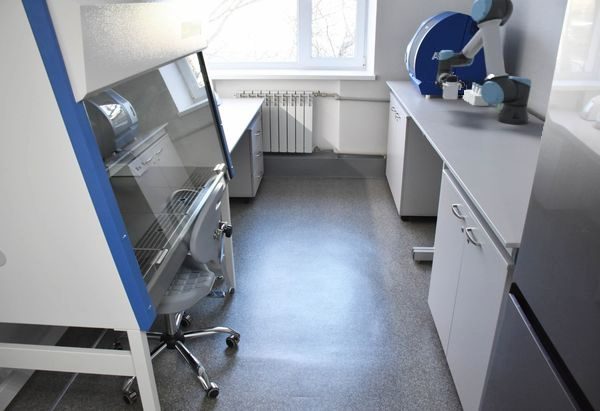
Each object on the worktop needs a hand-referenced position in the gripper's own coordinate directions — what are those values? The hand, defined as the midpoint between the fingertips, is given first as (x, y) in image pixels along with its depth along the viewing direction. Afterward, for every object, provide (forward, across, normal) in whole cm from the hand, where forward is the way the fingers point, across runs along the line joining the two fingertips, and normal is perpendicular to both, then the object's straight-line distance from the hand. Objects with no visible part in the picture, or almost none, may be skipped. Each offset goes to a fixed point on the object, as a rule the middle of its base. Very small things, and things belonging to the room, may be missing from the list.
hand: (452, 87), depth 255 cm
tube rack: (-55, -24, -18) cm, 63 cm away
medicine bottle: (-5, 0, -7) cm, 8 cm away
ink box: (-33, -36, -18) cm, 52 cm away
